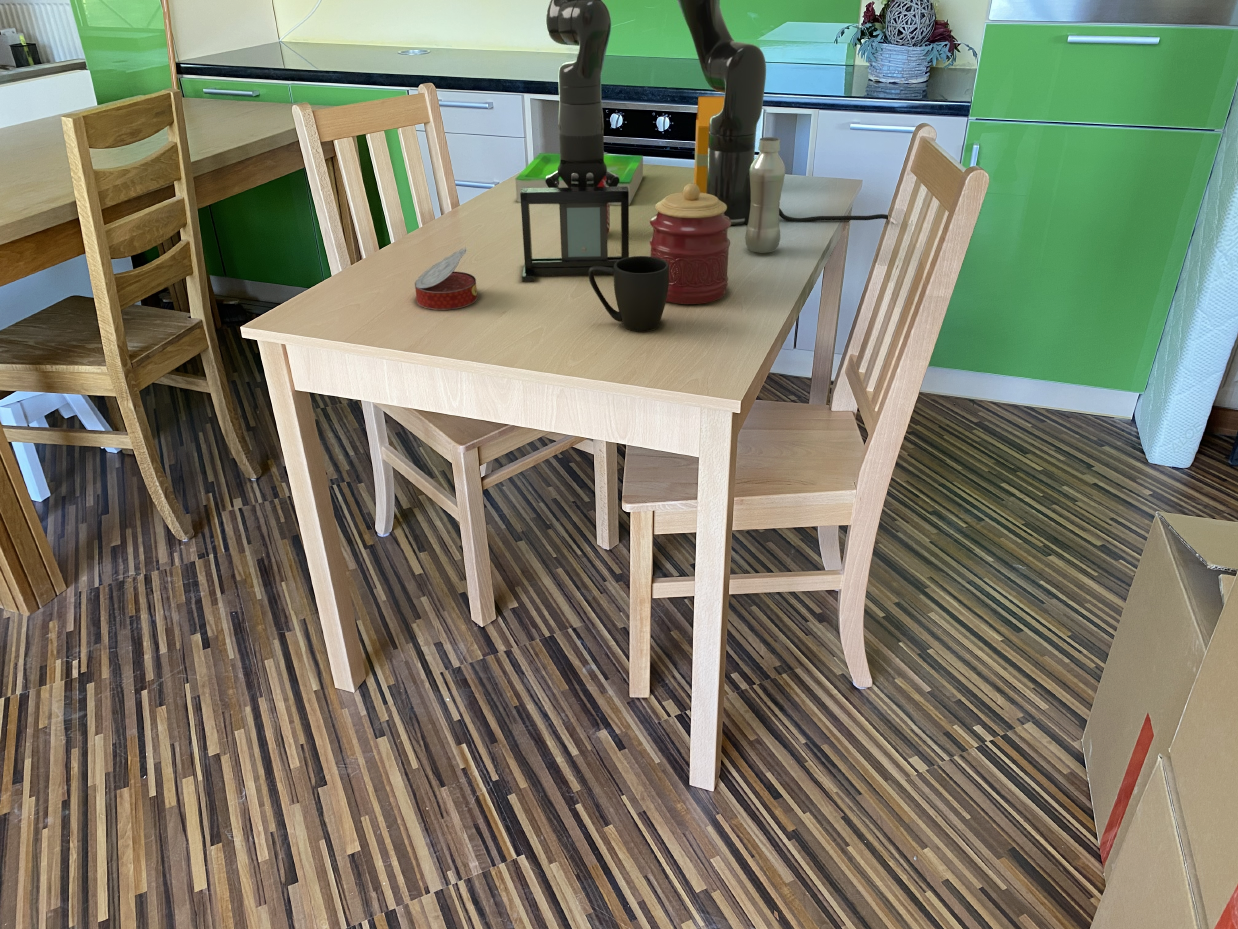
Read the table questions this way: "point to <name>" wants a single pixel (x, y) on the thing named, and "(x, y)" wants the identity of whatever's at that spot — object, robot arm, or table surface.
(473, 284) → the canned food
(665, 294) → the mug
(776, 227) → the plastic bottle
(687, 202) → the kitchen canister
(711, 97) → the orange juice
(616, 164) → the tray
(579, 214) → the window pane
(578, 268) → the window frame
